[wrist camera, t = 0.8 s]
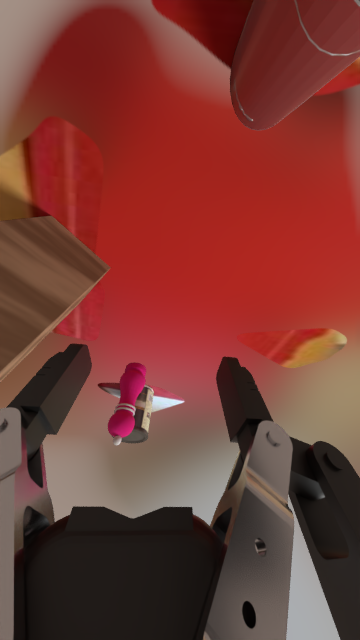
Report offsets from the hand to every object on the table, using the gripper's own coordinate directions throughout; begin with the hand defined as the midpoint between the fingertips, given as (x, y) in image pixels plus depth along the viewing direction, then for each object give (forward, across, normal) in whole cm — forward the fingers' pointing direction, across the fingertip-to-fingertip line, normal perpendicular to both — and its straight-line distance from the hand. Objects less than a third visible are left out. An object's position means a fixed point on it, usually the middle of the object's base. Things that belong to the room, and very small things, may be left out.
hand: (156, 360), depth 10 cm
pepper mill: (+29, +7, +35) cm, 46 cm away
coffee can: (+29, +6, +48) cm, 56 cm away
